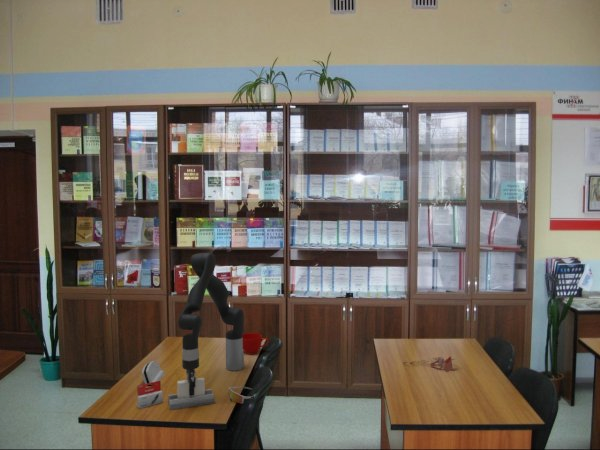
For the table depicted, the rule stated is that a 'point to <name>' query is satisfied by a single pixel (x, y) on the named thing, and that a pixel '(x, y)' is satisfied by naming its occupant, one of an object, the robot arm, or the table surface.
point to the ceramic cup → (252, 342)
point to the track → (190, 400)
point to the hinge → (152, 372)
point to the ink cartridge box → (149, 394)
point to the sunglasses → (237, 395)
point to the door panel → (184, 388)
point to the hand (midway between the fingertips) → (191, 393)
